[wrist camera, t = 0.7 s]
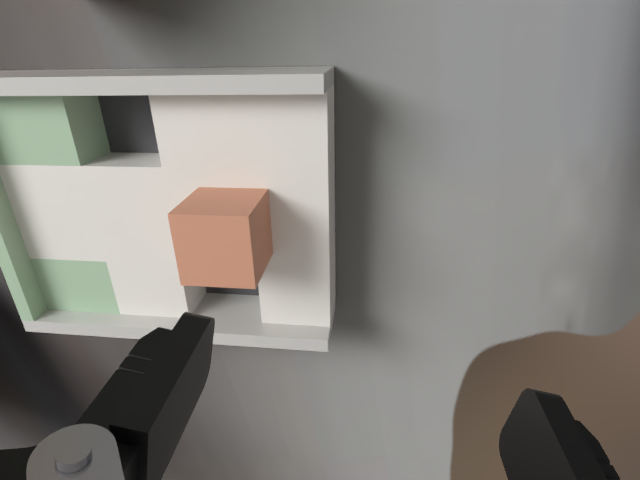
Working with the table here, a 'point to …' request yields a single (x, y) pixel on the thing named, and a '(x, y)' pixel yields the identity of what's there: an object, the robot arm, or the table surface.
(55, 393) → the table surface
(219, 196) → the block
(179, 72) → the box
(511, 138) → the table surface
